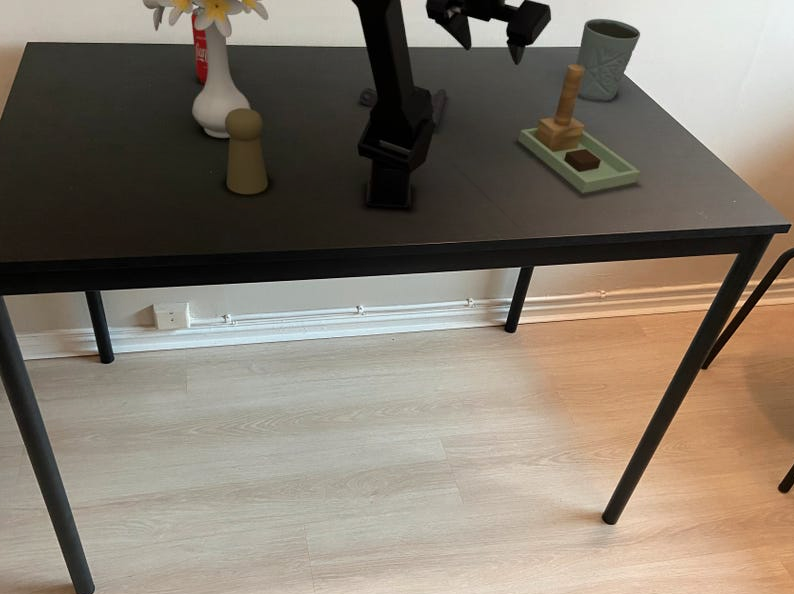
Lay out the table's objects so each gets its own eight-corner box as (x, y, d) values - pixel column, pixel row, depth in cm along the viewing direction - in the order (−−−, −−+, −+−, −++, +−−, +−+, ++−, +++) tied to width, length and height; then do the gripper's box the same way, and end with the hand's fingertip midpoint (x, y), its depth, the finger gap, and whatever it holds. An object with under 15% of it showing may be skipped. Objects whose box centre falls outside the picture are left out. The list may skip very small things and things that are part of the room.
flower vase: (159, 117, 119) (134, -50, 102) (268, 110, 123) (262, -51, 106) (164, 154, 110) (139, -22, 93) (282, 145, 114) (278, -24, 97)
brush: (547, 153, 117) (568, 74, 108) (533, 141, 120) (552, 64, 111) (578, 148, 119) (600, 70, 110) (563, 137, 122) (584, 60, 113)
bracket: (367, 87, 133) (368, 72, 131) (445, 98, 132) (447, 83, 130) (352, 120, 123) (352, 104, 121) (436, 132, 121) (438, 117, 120)
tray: (635, 185, 112) (640, 171, 111) (581, 196, 109) (585, 182, 107) (568, 134, 124) (571, 121, 122) (517, 143, 120) (520, 129, 119)
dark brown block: (598, 168, 114) (601, 159, 113) (578, 172, 113) (581, 163, 112) (583, 157, 117) (586, 148, 116) (563, 160, 116) (566, 152, 115)
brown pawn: (250, 198, 102) (246, 126, 95) (218, 185, 104) (211, 113, 97) (276, 182, 106) (274, 111, 98) (244, 169, 108) (240, 99, 100)
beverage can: (232, 79, 132) (227, 11, 123) (213, 88, 128) (207, 18, 120) (210, 72, 133) (204, 4, 125) (191, 80, 130) (184, 11, 122)
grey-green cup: (564, 79, 142) (580, 16, 134) (614, 83, 142) (633, 20, 134) (573, 101, 135) (590, 35, 126) (625, 105, 135) (646, 40, 127)
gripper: (569, -60, 96) (572, 33, 110) (456, -82, 105) (471, 7, 118) (525, -3, 94) (534, 85, 108) (413, -31, 103) (434, 54, 116)
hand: (493, 55), depth 112 cm, fingers open, 9 cm apart
